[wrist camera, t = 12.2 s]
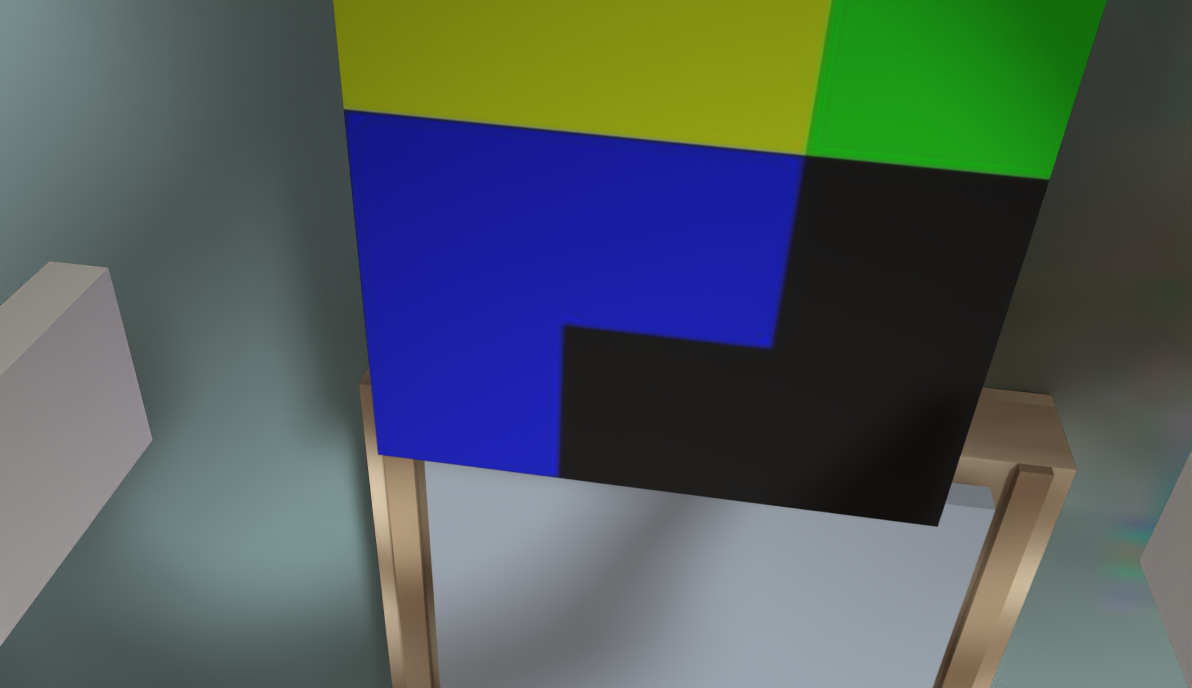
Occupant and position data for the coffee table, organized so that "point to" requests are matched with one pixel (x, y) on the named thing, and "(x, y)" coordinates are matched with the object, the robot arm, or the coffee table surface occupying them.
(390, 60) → the puzzle toy
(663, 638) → the lid
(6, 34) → the coffee table surface
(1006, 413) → the board
